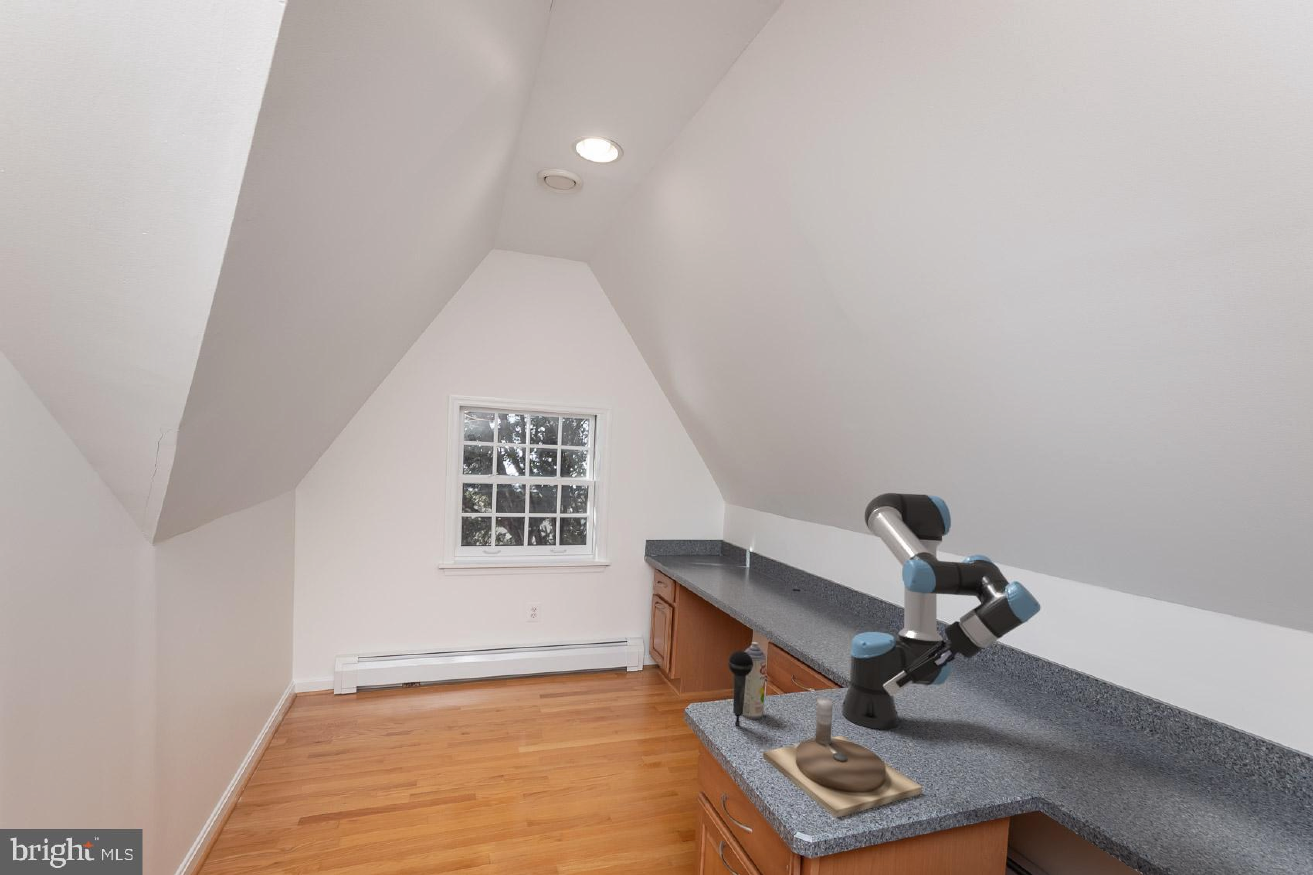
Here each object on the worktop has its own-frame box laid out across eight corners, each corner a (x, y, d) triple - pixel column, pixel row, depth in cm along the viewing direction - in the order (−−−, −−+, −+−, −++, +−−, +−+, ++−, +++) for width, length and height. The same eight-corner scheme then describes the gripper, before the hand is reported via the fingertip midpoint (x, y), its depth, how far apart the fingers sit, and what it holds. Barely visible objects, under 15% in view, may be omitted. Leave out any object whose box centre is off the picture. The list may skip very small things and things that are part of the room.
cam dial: (904, 788, 131) (906, 733, 131) (821, 795, 126) (824, 738, 126) (854, 743, 150) (857, 695, 150) (781, 747, 146) (784, 698, 146)
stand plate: (841, 741, 155) (841, 733, 155) (921, 793, 132) (922, 784, 132) (763, 757, 144) (763, 749, 144) (835, 817, 121) (836, 808, 121)
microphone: (730, 732, 156) (734, 656, 157) (720, 720, 163) (724, 647, 163) (754, 730, 158) (758, 655, 158) (743, 719, 165) (747, 646, 165)
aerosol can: (761, 720, 164) (765, 648, 164) (737, 716, 166) (741, 644, 166) (764, 710, 171) (768, 641, 171) (740, 706, 173) (744, 637, 173)
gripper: (982, 657, 126) (894, 714, 134) (983, 641, 137) (902, 695, 145) (956, 627, 128) (871, 685, 136) (959, 613, 140) (880, 668, 148)
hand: (887, 690), depth 141 cm, fingers closed
